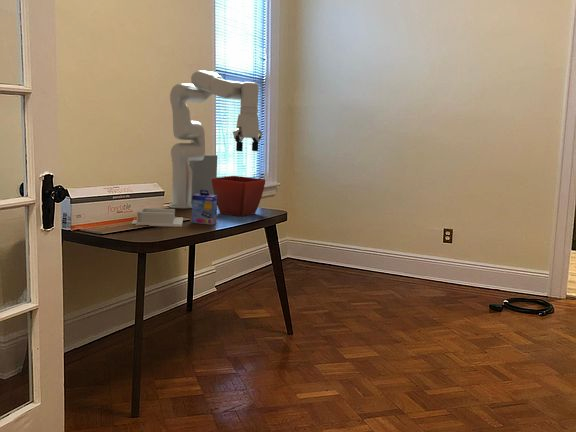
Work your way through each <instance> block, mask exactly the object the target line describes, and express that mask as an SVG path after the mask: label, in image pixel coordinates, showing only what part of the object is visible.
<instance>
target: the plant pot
mask: <svg viewBox="0 0 576 432" xmlns="http://www.w3.org/2000/svg"><path fill="white" fill-rule="evenodd" d="M265 185H266V179H263V178H255V177H248V176H240V175H239V176H238V175H229V176H221V177H220V176H219V177H218V176H217V178H212V186H213V191H214V195H217V210H218V212H219V214H223V215H229V216H235V215H236V216H237V217H245V215H246V216H250V215H254V214H256V212H257V210H258V208H259V205H260V202H261V199H262V196H263V193H264V189H265ZM253 213H254V214H253ZM236 216H235V217H236Z"/></svg>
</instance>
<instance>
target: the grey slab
mask: <svg viewBox="0 0 576 432" xmlns="http://www.w3.org/2000/svg"><path fill="white" fill-rule="evenodd" d="M189 165H190V167H191V169H192V195H194V194H200V190H208V192H209V195H214V191H213V186H212V178H218V176H217V175H218V155H217V154H205V156H204V159H203V160H202V161H200V162H189ZM202 193H207V192H205V191H203V192H202ZM191 203H192V196H191Z"/></svg>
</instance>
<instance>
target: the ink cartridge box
mask: <svg viewBox="0 0 576 432" xmlns="http://www.w3.org/2000/svg"><path fill="white" fill-rule="evenodd" d="M203 191H205V192H207V193H202V192H203ZM191 204H192V208H191V224H198V225H199V224H200V225H201V224H202V225H210V226H211V225H215V224H216V223H217V210H218V206H217V195H209V192H208V190H200V194H194V195H192V202H191Z"/></svg>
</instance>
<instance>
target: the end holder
mask: <svg viewBox="0 0 576 432" xmlns="http://www.w3.org/2000/svg"><path fill="white" fill-rule="evenodd" d="M143 208H144V209H140V208H139V210H138V211H137V214H136V216H137V220H134V219H133V220H132V222H131V225H132V224H136V225H135V226H138V225H149V226H148V227H175V228H176V227H178V228H179V227H181V228H182V226H183V221H184V217H182V216H181V217H176V208H153V207H152V208H150V207H143Z"/></svg>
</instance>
